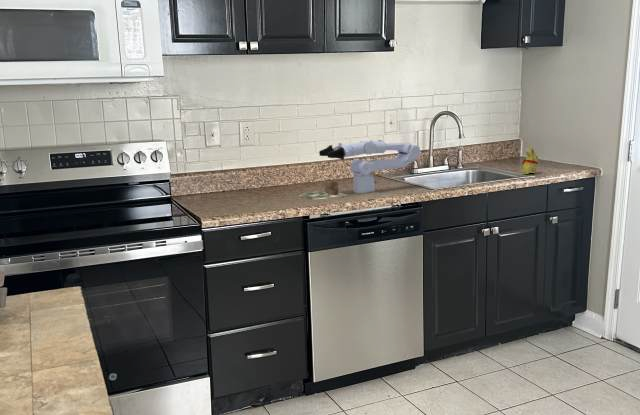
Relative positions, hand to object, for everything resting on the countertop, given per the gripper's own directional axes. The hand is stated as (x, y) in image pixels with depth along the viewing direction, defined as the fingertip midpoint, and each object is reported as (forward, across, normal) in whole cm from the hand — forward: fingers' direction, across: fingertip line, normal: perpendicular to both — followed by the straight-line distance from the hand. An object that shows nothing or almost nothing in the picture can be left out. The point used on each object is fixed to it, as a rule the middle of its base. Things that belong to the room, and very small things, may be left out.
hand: (323, 154), depth 287 cm
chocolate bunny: (-120, +7, +27) cm, 124 cm away
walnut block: (-4, -2, +20) cm, 20 cm away
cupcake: (-38, -25, +23) cm, 51 cm away
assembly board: (0, -2, +20) cm, 20 cm away
